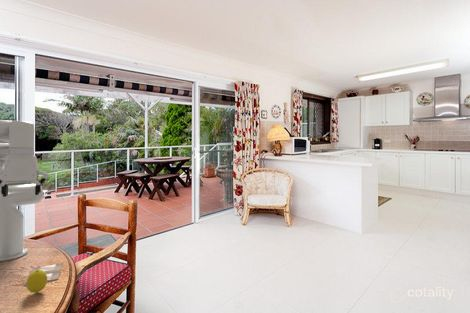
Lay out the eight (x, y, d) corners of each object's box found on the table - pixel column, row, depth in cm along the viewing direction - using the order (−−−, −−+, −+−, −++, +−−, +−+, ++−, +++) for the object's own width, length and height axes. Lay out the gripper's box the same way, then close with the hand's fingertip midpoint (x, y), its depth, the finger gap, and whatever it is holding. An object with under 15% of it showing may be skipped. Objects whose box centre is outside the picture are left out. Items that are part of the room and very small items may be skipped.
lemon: (35, 299, 80) (35, 275, 80) (22, 296, 81) (22, 272, 81) (51, 289, 85) (51, 267, 85) (38, 287, 86) (38, 265, 86)
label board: (33, 268, 99) (33, 267, 99) (63, 263, 104) (63, 262, 104) (23, 286, 87) (23, 285, 87) (58, 279, 91) (58, 278, 91)
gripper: (-12, 152, 89) (-12, 198, 89) (47, 153, 97) (47, 195, 98) (-5, 151, 95) (-5, 194, 96) (50, 152, 104) (50, 192, 104)
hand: (21, 195), depth 97 cm, fingers open, 9 cm apart
